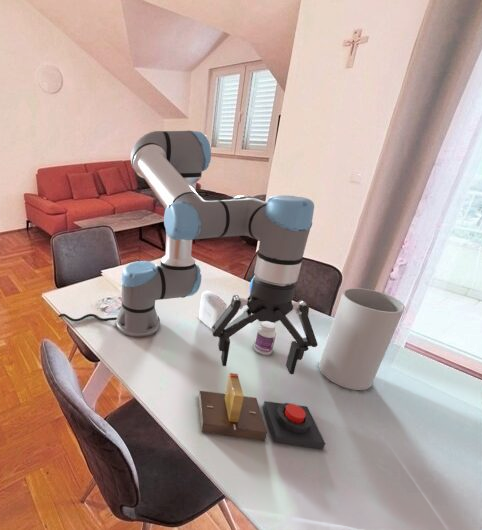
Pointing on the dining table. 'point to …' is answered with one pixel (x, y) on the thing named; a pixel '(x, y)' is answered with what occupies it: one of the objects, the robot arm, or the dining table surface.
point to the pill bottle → (265, 338)
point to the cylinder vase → (359, 337)
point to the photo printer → (211, 308)
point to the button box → (292, 427)
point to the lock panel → (218, 421)
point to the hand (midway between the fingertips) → (255, 366)
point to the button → (295, 413)
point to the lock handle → (233, 397)
